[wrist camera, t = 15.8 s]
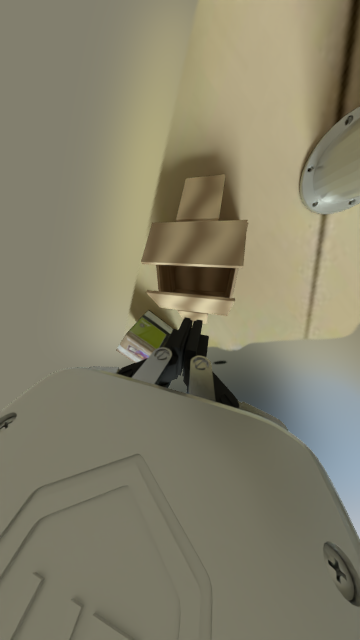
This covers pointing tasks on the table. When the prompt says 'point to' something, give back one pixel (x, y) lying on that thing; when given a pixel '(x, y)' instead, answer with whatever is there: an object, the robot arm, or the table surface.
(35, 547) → the robot arm
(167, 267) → the carton
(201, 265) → the near flap
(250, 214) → the table surface
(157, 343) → the tea box
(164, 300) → the far flap
